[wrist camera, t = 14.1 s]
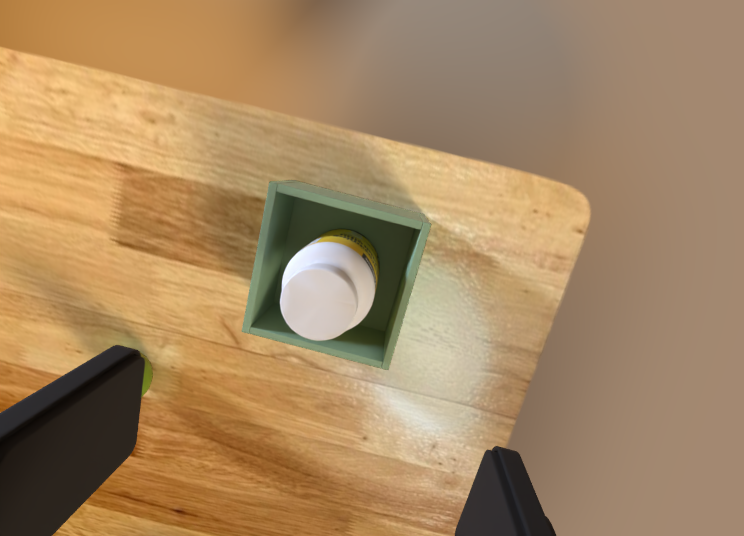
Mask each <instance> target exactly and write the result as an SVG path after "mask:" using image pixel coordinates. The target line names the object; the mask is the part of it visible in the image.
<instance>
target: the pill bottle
mask: <svg viewBox="0 0 744 536" xmlns="http://www.w3.org/2000/svg"><path fill="white" fill-rule="evenodd" d="M379 270H380V262H379V257H378V253H377V251H376V249H375V247H374V245H373V244H372V243H371V242H370V240H369V239H368V238H366V237H365V236H364V235H362V234H361V233H359V232H357V231H354V230H351V229H343V228H340V229H334V230H330V231H328V232H325V233H323V234H322V235H320V236H319V237H318V238H316V239H315V240H313V241H312V242H311V243H309V244H308V245H307V246H306V247H304V248H303V249H302V250H300V251H299V252H298V253H297V254H296V255H295V256H294V257H293V258H292V259H291V260H290V262H289V263H288V265H287V267H286V269H285V271H284V274H283V278H282V292H281V297H280V307H281V312H282V315H283V318H284V319H285V321H286V323H287V324H288V325H289V327H290V328H291V329H292V330H293V331H294V332H296V333H297V334H299V335H300V336H302V337H304V338H307V339H311V340H317V341H322V340H329V339H333V338H335V337H337V336H339V335H341V334H342V333H344V332H345V331H347V330H349V329H351V328H353V327H354V326H356V325H357V324H359V323H360V322H361V321H362V320H363V319H364V318H365V316H366V315H367V314H368V312H369V310H370V308H371V306H372V303H373V300H374V296H375V291H376V286H377V281H378V276H379Z"/></svg>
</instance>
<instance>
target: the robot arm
mask: <svg viewBox="0 0 744 536" xmlns="http://www.w3.org/2000/svg"><path fill="white" fill-rule="evenodd" d="M144 369H145V359H144V358H143V357H141V354H140V352H139V351H138V350H135V349H131V348H128V347H124V346H120V345H115V346H112V347H111V348H109V349H107V350H106V351H104V352H102V353H101V354H99V355H97V356H96V357H94V358H92V359H91V360H89V361H87V362H85V363H84V364H82V365H80V366H79V367H77V368H75V369H74V370H72V371H70V372H69V373H67V374H65V375H64V376H62V377H60V378H59V379H57V380H55V381H53V382H52V383H50V384H48V385H47V386H45V387H43V388H42V389H40V390H38V391H37V392H35V393H33V394H32V395H30V396H28V397H27V398H25V399H23V400H21V401H20V402H18V403H16V404H15V405H13V406H11V407H10V408H8V409H6V410H5V411H3V412H1V413H0V536H52V535H53V534H54V533H55V532H56V531H57V530H58V529H59V528H60V527H61V526H62V525H63V524H64V523H65V522H66V521H67V520H68V518H69V517H70V516H71V515H72V514H73V513H74V512H75V511H76V510H77V509H78V508H79V507H80V506H81V505H82V504H83V503H84V502H85V501H86V500H87V499H88V498H89V497H90V496H91V495H92V494H93V493H94V492H95V491H96V490H97V489H98V488H99V487H100V486H101V485H102V483H103V482H104V481H105V480H106V479H107V478H108V477H109V476H110V475H111V474H112V473H113V472H114V471H115V470H116V469H117V468H118V467H119V466H120V465H121V464H122V463H123V462H124V461H125V460H126V459H127V458H128V457H129V455H130V454H131V453H132V451H133V449H134V447H135V444H136V440H137V432H138V423H139V414H140V405H141V396H142V387H143V378H144ZM455 536H556V534H555V531H554V529H553V527H552V524H551V523H550V521H549V519H548V518H547V517H546V516H545V514H544V512H543V510H542V507H541V505H540V503H539V500H538V498H537V495H536V493H535V490H534V488H533V486H532V483H531V481H530V478H529V476H528V473H527V471H526V469H525V466H524V464H523V462H522V459H521V457H520V455H519V453H518V452H516V451H513V450H509V449H506V448H502V447H498V446H495V447H494V448H493V449H492V451H491V450H486V452H485V454H484V456H483V459H482V461H481V464H480V467H479V469H478V472H477V475H476V477H475V480H474V482H473V485H472V488H471V490H470V493H469V496H468V498H467V501H466V504H465V506H464V509H463V512H462V514H461V517H460V520H459V522H458V525H457V528H456V531H455Z"/></svg>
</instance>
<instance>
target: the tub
mask: <svg viewBox="0 0 744 536" xmlns="http://www.w3.org/2000/svg"><path fill="white" fill-rule="evenodd" d="M430 227H431V223H430V222H429V220H428V219H427V217H426V216H425V215H424V214H421V213H417V212H413V211H409V210H406V209H402V208H398V207H394V206H390V205H387V204H383V203H379V202H375V201H371V200H368V199H364V198H360V197H356V196H352V195H349V194H345V193H341V192H337V191H334V190H330V189H326V188H322V187H318V186H315V185H311V184H307V183H303V182H299V181H296V180H285V181H271V182H269V187H268V193H267V198H266V204H265V209H264V214H263V220H262V225H261V230H260V236H259V241H258V247H257V252H256V257H255V263H254V268H253V274H252V279H251V284H250V290H249V295H248V301H247V306H246V311H245V317H244V322H243V328H242V332H244V333H248V334H249V333H250V334H253V335H256V336H260V337H264V338H268V339H272V340H275V341H279V342H283V343H287V344H291V345H294V346H298V347H302V348H306V349H310V350H313V351H317V352H321V353H325V354H329V355H332V356H336V357H340V358H344V359H347V360H351V361H355V362H359V363H363V364H366V365H370V366H374V367H378V368H382V369H385V370H388V369H389V366H390V363H391V360H392V356H393V353H394V349H395V346H396V343H397V339H398V336H399V332H400V329H401V326H402V322H403V319H404V315H405V312H406V309H407V305H408V302H409V298H410V295H411V292H412V288H413V285H414V281H415V278H416V275H417V271H418V268H419V265H420V261H421V258H422V254H423V251H424V248H425V244H426V241H427V237H428V234H429V231H430ZM340 228H343V229H351V230H354V231H357V232H359V233H361V234H362V235H364V236H365V237H366V238H368V239H369V240H370V242H371V243H372V244H373V245H374V247H375V249H376V251H377V253H378V257H379V262H380V270H379V276H378V281H377V286H376V291H375V296H374V300H373V303H372V306H371V308H370V310H369V312H368V314H367V315H366V316H365V318H364V319H363V320H362V321H361V322H360V323H359V324H357V325H356V326H354V327H353V328H351V329H349V330H347V331H345V332H344V333H342V334H341V335H339V336H337V337H335V338H333V339H329V340H322V341H317V340H311V339H307V338H304V337H302V336H300V335H299V334H297V333H296V332H294V331H293V330H292V329H291V328H290V327H289V325H288V324H287V323H286V321H285V319H284V318H283V315H282V312H281V307H280V297H281V292H282V278H283V274H284V271H285V269H286V267H287V265H288V263H289V262H290V260H291V259H292V258H293V257H294V256H295V255H296V254H297V253H298V252H299V251H300V250H302V249H303V248H304V247H306V246H307V245H308V244H309V243H311V242H312V241H313V240H315V239H316V238H318V237H319V236H320V235H322V234H323V233H325V232H328V231H330V230H334V229H340Z"/></svg>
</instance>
